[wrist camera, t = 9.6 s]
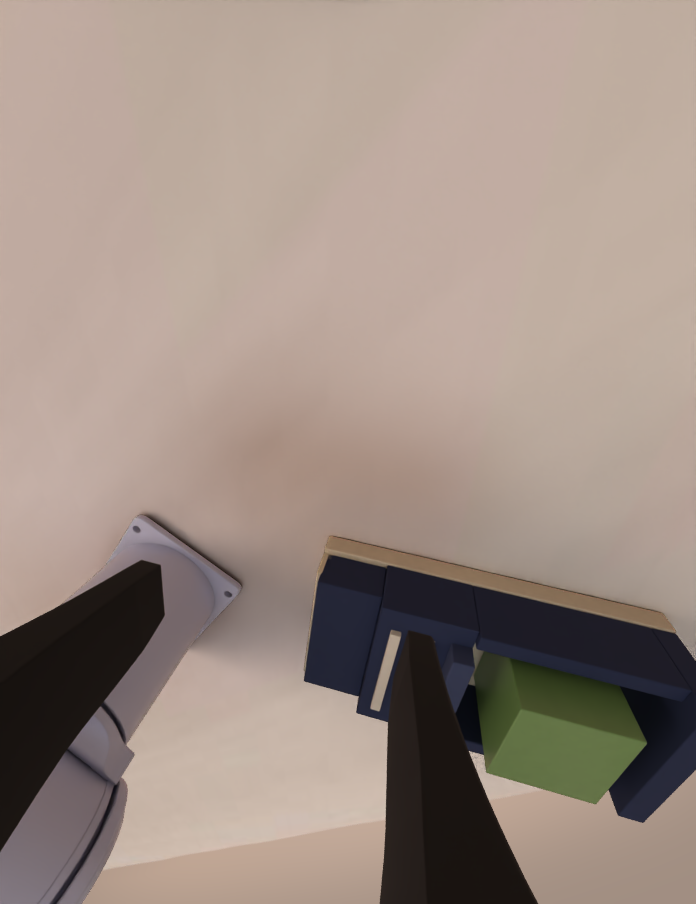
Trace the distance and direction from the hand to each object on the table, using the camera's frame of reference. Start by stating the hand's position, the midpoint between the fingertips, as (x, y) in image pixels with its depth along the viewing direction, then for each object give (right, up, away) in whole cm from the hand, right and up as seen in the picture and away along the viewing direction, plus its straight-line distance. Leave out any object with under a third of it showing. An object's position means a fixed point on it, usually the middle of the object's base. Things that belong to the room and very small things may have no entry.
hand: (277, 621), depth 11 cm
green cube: (+12, -7, +10) cm, 17 cm away
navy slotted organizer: (+9, -6, +12) cm, 16 cm away
